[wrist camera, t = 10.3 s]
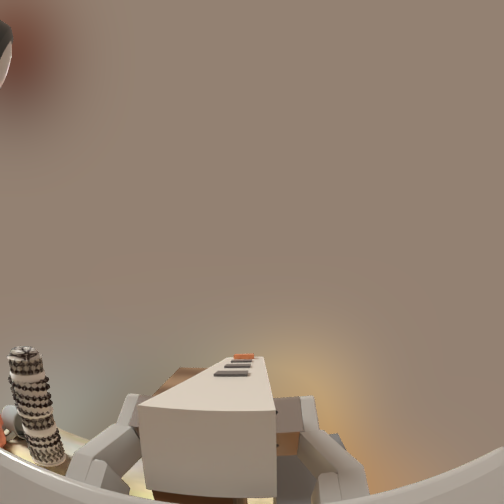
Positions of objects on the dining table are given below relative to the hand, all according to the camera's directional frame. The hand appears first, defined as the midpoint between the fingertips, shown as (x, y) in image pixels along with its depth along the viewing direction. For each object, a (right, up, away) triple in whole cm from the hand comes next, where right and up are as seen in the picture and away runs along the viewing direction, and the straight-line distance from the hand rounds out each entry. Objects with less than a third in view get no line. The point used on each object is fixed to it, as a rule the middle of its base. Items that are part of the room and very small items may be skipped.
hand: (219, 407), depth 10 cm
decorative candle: (-42, -38, +31) cm, 64 cm away
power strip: (0, -5, +9) cm, 10 cm away
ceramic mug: (-56, -39, +35) cm, 76 cm away
